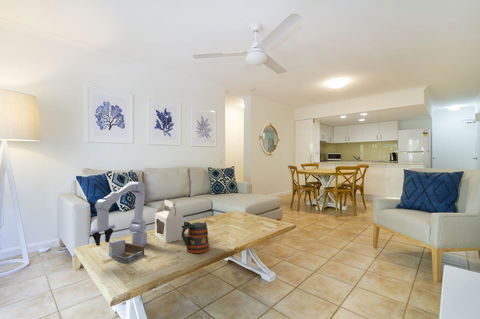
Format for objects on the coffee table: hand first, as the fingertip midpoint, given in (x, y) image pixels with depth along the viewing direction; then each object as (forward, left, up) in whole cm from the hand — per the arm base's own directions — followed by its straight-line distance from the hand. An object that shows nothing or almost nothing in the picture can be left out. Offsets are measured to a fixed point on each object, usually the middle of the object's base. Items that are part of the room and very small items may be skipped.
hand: (102, 243), depth 131 cm
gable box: (-48, +7, -10) cm, 50 cm away
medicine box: (-9, 0, -10) cm, 14 cm away
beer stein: (-35, +40, -10) cm, 54 cm away
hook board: (-9, +5, -10) cm, 15 cm away
